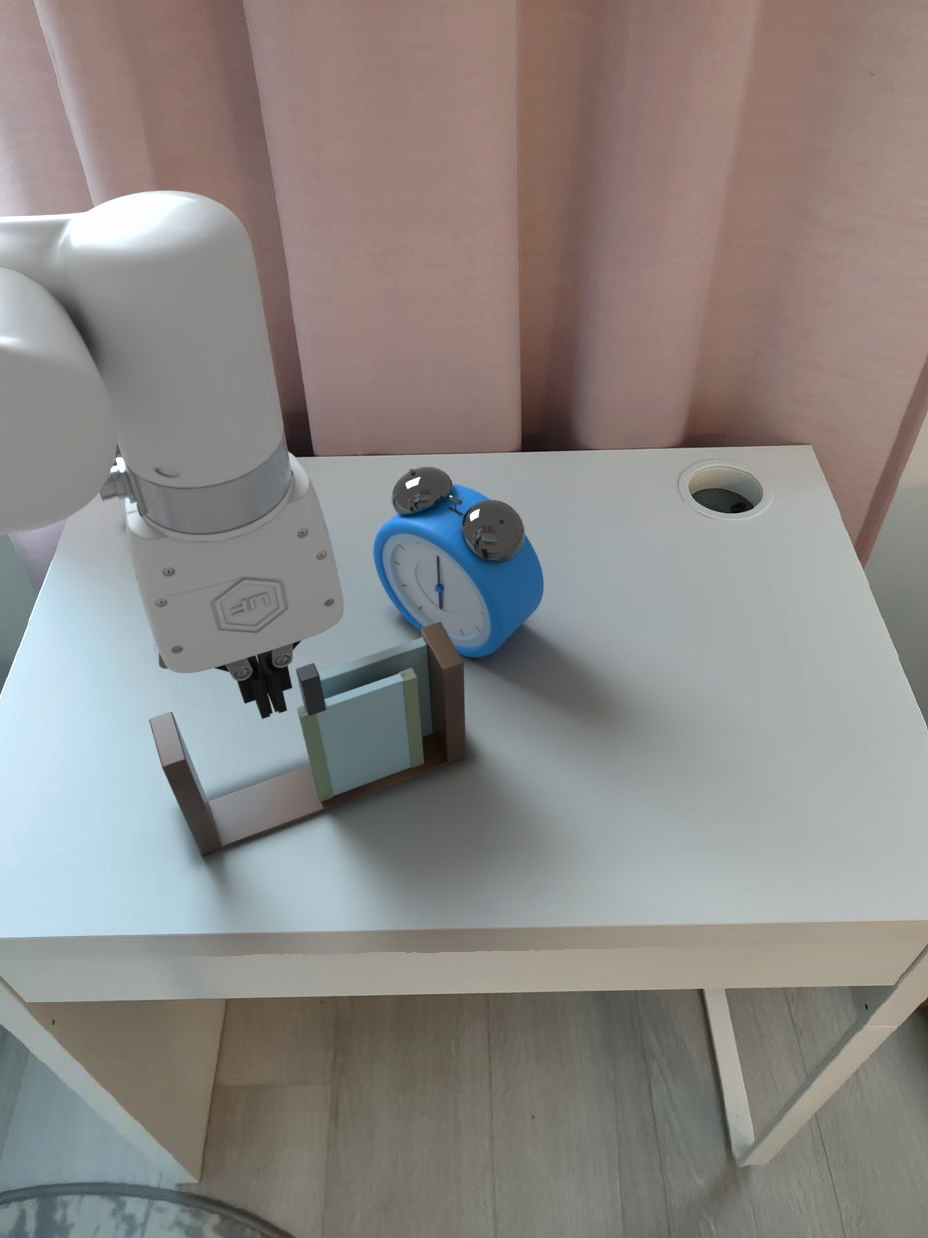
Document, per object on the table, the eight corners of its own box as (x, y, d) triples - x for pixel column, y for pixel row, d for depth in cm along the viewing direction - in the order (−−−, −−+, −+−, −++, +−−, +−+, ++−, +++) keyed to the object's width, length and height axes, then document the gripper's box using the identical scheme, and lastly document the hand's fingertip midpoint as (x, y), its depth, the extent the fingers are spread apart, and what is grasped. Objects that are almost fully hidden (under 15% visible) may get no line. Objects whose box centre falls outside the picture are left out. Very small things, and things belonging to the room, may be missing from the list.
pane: (321, 804, 71) (293, 685, 61) (316, 790, 72) (287, 670, 61) (425, 765, 73) (415, 643, 63) (419, 753, 74) (408, 630, 63)
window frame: (205, 865, 70) (161, 767, 60) (192, 819, 72) (148, 718, 63) (466, 766, 75) (464, 662, 65) (445, 726, 77) (440, 620, 68)
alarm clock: (377, 612, 85) (361, 478, 74) (423, 571, 88) (415, 436, 77) (498, 687, 80) (501, 555, 68) (543, 640, 83) (553, 507, 72)
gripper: (62, 562, 43) (160, 787, 57) (384, 473, 47) (403, 704, 61) (39, 461, 48) (134, 692, 62) (334, 386, 52) (362, 619, 66)
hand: (268, 697), depth 61 cm, fingers closed
